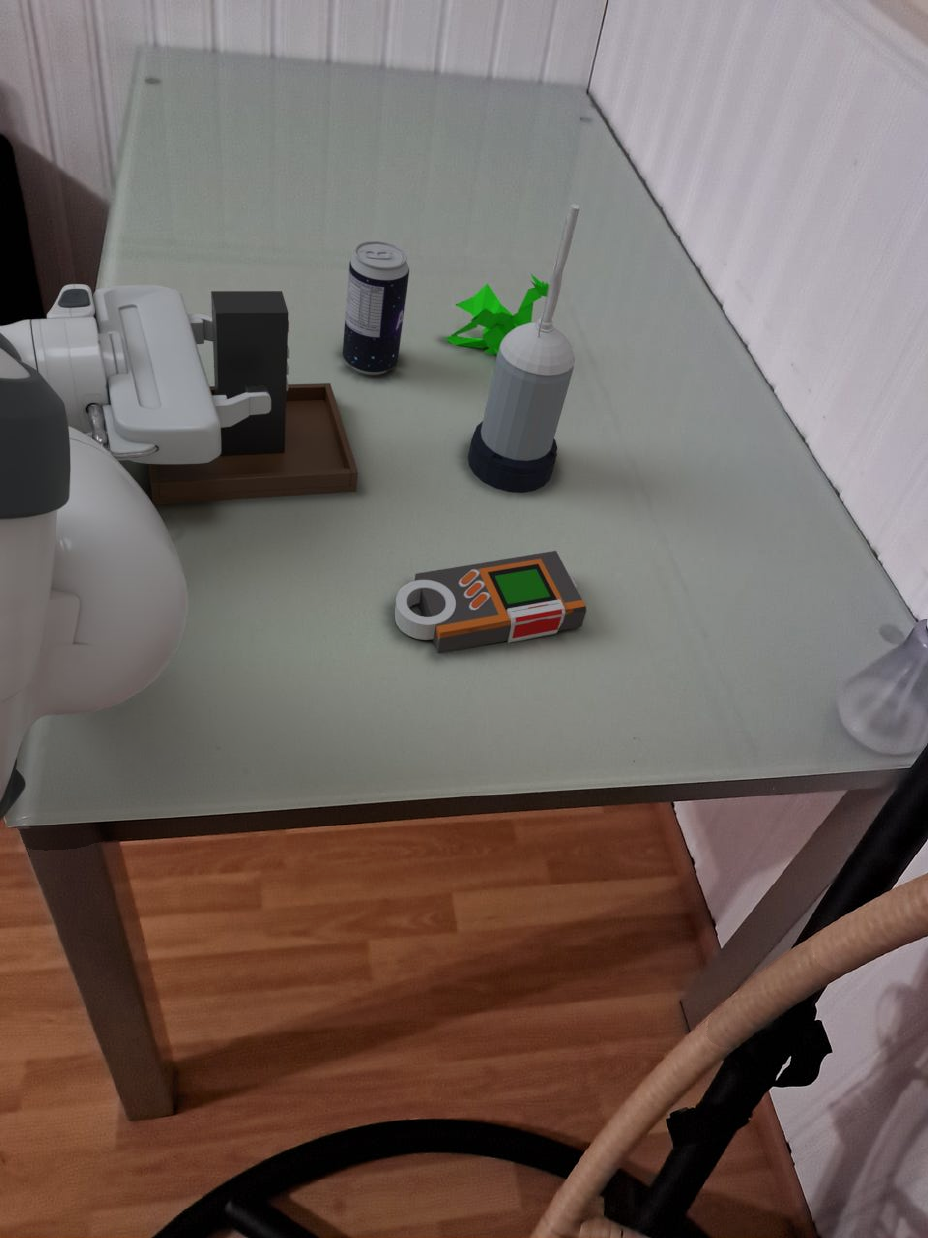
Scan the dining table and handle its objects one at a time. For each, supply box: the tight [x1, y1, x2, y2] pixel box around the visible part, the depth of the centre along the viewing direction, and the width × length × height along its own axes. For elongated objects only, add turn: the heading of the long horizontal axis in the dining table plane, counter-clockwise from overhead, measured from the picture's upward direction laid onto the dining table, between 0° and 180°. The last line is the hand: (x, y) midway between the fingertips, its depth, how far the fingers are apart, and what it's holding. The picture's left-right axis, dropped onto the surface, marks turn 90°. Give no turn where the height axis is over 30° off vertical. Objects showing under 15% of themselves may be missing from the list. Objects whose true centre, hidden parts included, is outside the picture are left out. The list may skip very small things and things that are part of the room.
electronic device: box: [394, 550, 587, 654], centre depth 76 cm, size 7×3×15 cm
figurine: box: [444, 273, 550, 356], centre depth 100 cm, size 6×12×9 cm, turn 86°
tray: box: [148, 382, 359, 505], centre depth 85 cm, size 17×13×2 cm
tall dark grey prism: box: [210, 290, 290, 456], centre depth 80 cm, size 3×6×14 cm, turn 106°
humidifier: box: [467, 203, 581, 494], centre depth 81 cm, size 8×8×25 cm
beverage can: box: [342, 240, 410, 376], centre depth 94 cm, size 6×6×12 cm
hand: (257, 365), depth 80 cm, fingers open, 8 cm apart
